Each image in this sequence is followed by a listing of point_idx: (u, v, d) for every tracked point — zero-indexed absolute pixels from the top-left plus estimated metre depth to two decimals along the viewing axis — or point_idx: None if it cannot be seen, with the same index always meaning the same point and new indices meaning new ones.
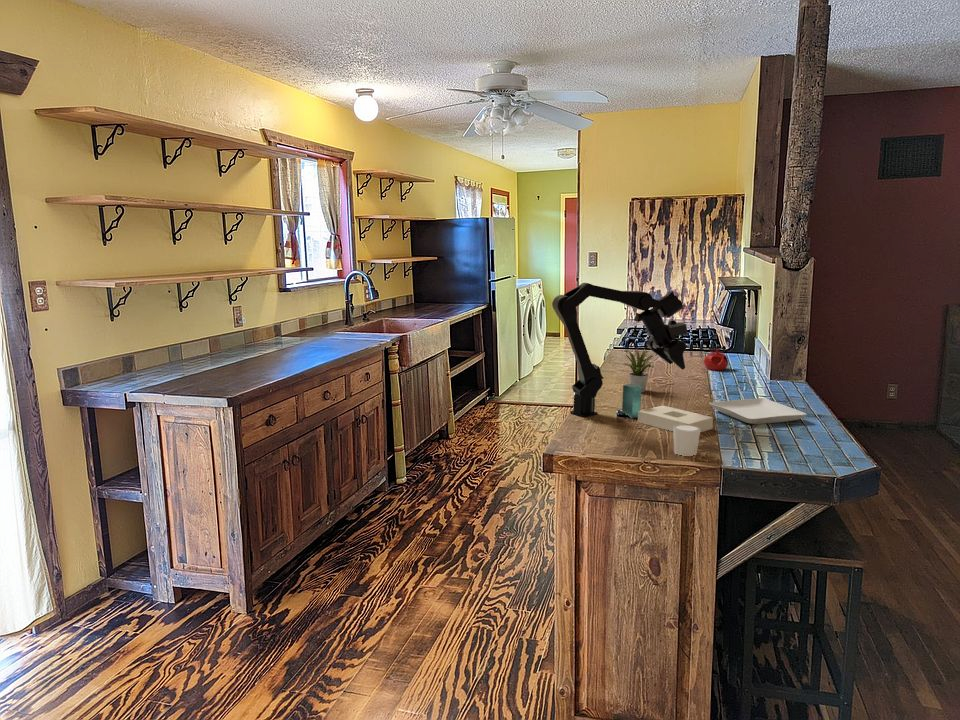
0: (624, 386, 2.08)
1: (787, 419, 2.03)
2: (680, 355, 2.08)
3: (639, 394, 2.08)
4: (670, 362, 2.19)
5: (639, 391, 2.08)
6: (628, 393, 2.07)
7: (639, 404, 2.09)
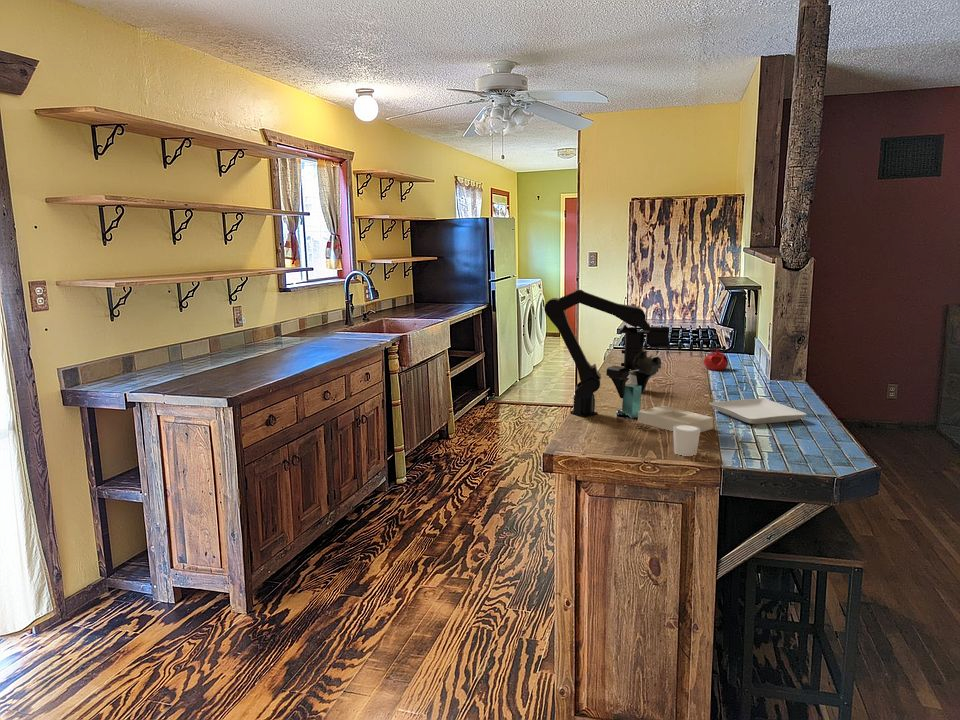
0: None
1: (787, 419, 2.03)
2: (621, 383, 2.04)
3: (639, 394, 2.08)
4: None
5: (639, 391, 2.08)
6: (628, 393, 2.07)
7: (639, 404, 2.09)
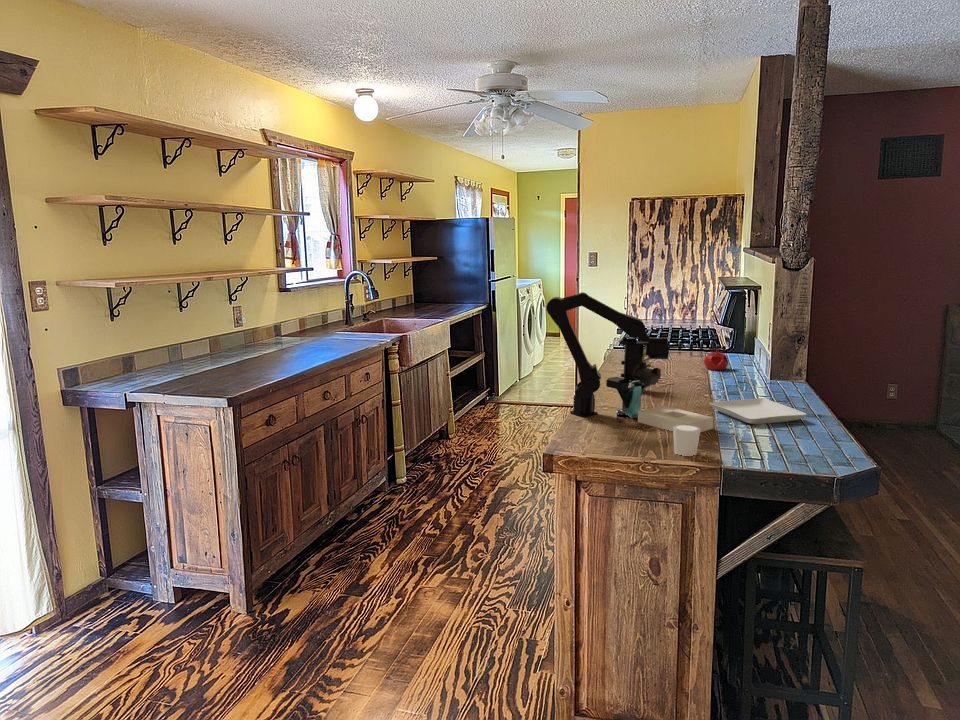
0: None
1: (787, 419, 2.03)
2: (626, 393, 2.06)
3: (639, 394, 2.08)
4: None
5: (639, 391, 2.08)
6: None
7: (639, 404, 2.09)
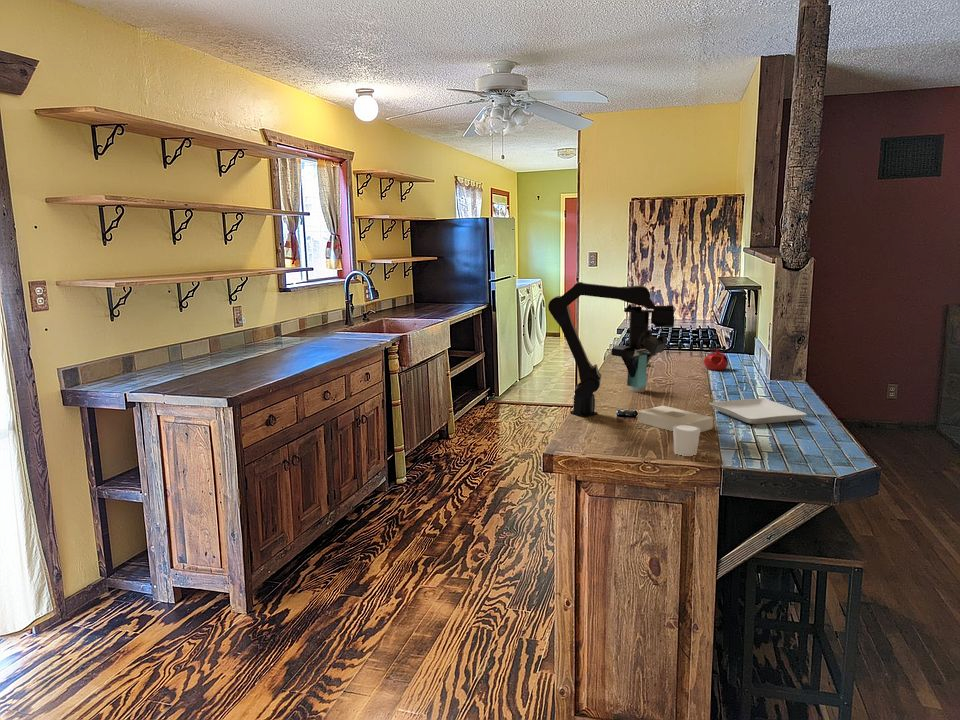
0: None
1: (787, 419, 2.03)
2: (631, 362, 2.03)
3: (645, 363, 2.05)
4: None
5: (644, 360, 2.05)
6: None
7: (645, 373, 2.06)
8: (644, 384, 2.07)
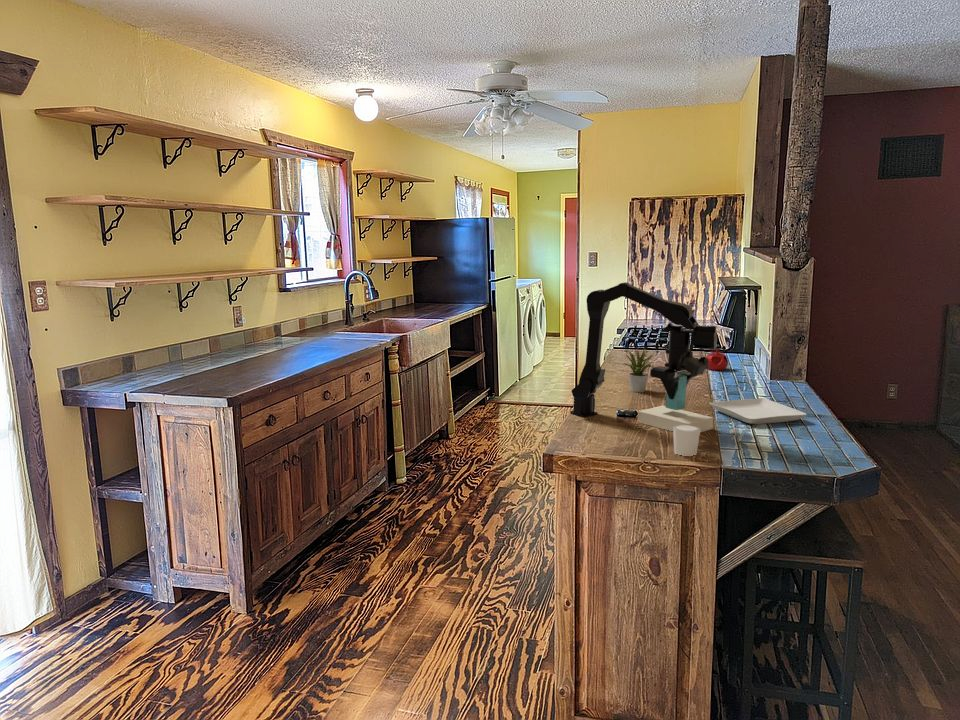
0: None
1: (787, 419, 2.03)
2: (671, 383, 1.95)
3: (684, 385, 1.97)
4: None
5: (684, 382, 1.96)
6: None
7: (684, 395, 1.97)
8: (683, 406, 1.98)
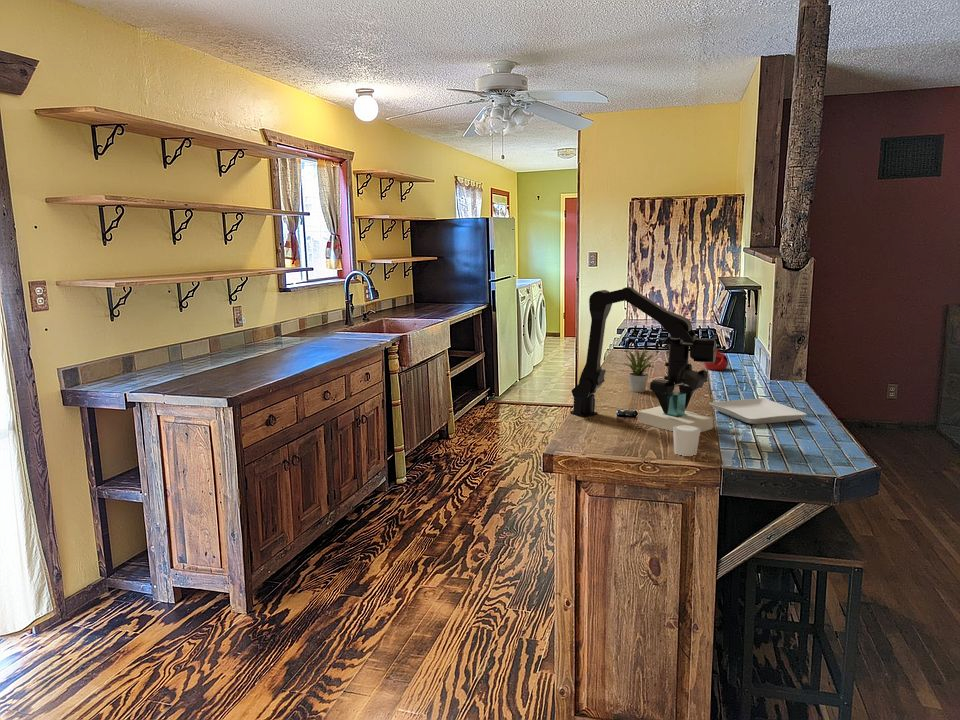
0: None
1: (787, 419, 2.03)
2: (665, 398, 1.94)
3: (683, 402, 1.98)
4: None
5: (683, 400, 1.97)
6: (672, 402, 1.97)
7: (683, 413, 1.98)
8: None
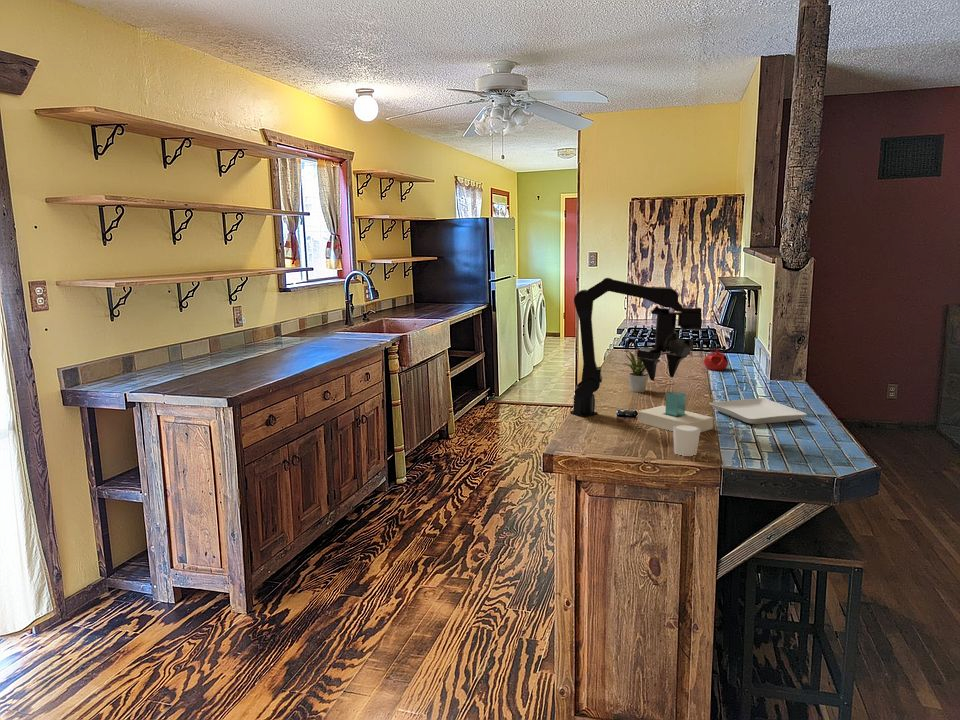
0: (667, 394, 1.98)
1: (787, 419, 2.03)
2: (652, 365, 2.01)
3: (683, 402, 1.98)
4: (670, 375, 2.08)
5: (683, 400, 1.97)
6: (672, 402, 1.97)
7: (683, 413, 1.98)
8: None
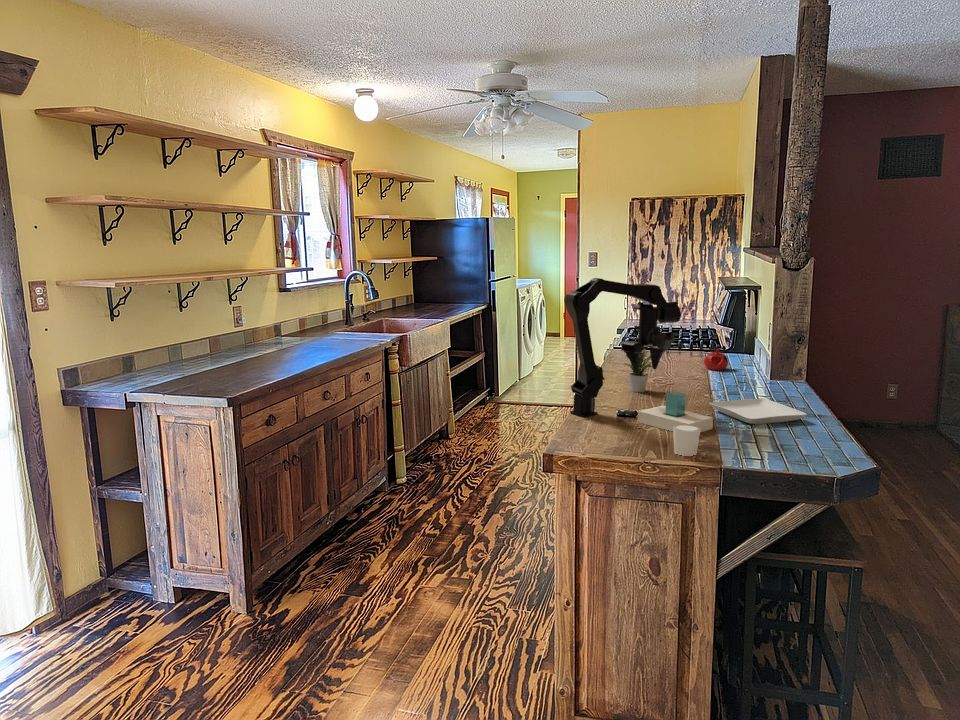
0: (667, 394, 1.98)
1: (787, 419, 2.03)
2: (636, 357, 2.11)
3: (683, 402, 1.98)
4: (653, 367, 2.19)
5: (683, 400, 1.97)
6: (672, 402, 1.97)
7: (683, 413, 1.98)
8: None
